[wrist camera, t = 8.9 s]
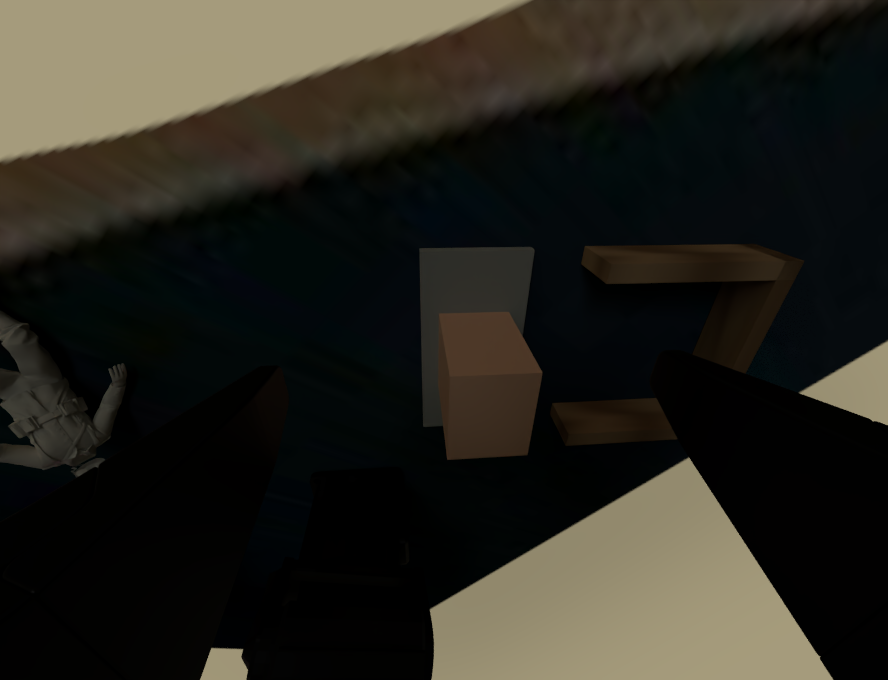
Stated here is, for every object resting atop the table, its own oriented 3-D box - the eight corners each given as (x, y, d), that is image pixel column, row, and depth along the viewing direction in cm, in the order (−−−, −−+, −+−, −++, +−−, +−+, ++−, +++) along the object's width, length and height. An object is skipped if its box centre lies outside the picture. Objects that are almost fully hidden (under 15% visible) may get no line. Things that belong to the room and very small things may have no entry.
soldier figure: (52, 255, 19) (180, 450, 21) (67, 278, 23) (175, 441, 25) (-215, 315, 14) (-11, 557, 16) (-139, 332, 18) (18, 527, 20)
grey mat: (423, 420, 25) (423, 426, 25) (419, 248, 19) (419, 251, 19) (508, 416, 26) (510, 422, 25) (531, 246, 20) (534, 250, 19)
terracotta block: (438, 384, 23) (447, 459, 18) (438, 313, 20) (449, 376, 15) (500, 382, 23) (527, 455, 18) (508, 311, 21) (542, 373, 16)
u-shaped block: (549, 414, 26) (565, 445, 23) (585, 246, 20) (611, 264, 17) (682, 407, 27) (712, 437, 24) (754, 243, 21) (804, 260, 18)
